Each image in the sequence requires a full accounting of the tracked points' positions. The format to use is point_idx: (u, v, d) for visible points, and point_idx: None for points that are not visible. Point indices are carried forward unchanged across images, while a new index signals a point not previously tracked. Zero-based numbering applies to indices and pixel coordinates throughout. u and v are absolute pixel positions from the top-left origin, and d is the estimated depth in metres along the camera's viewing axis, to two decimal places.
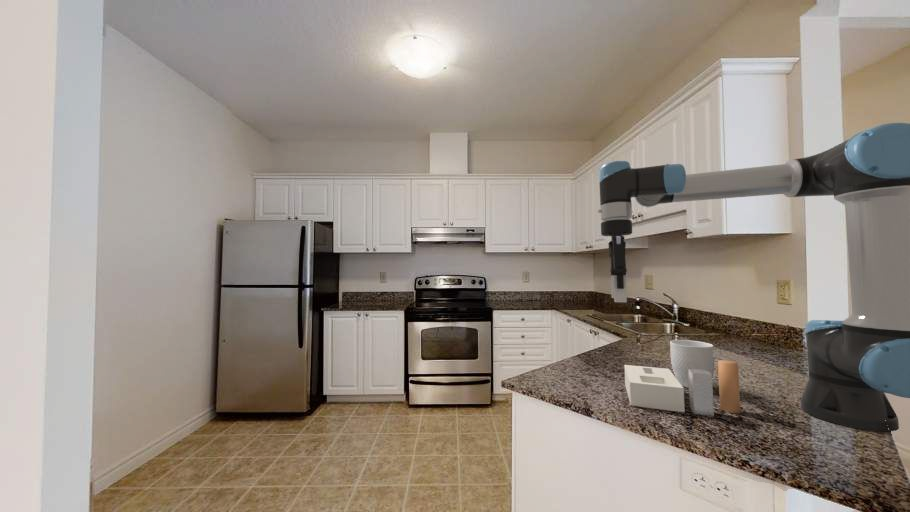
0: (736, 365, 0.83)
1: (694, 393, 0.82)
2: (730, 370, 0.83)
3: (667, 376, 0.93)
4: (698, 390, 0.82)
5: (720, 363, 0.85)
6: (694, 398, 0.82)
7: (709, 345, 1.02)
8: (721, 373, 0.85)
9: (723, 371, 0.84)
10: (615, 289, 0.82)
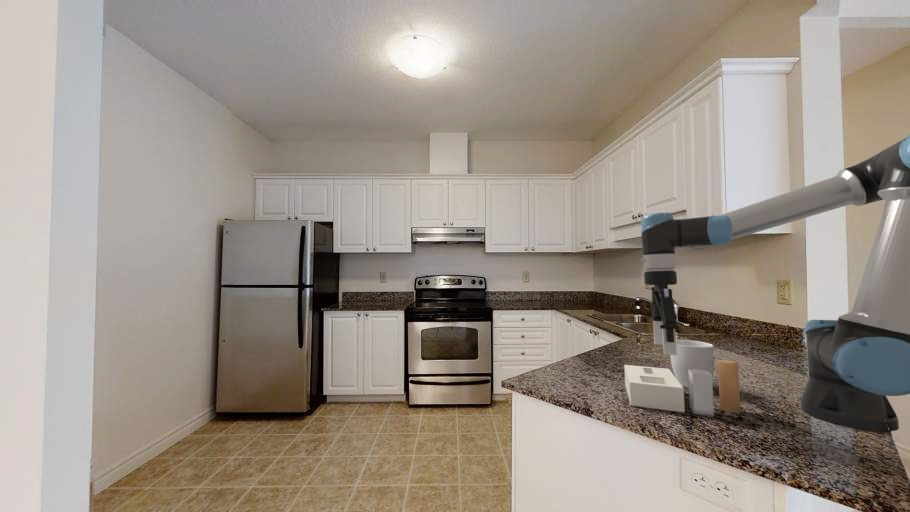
0: (736, 365, 0.83)
1: (694, 393, 0.82)
2: (730, 370, 0.83)
3: (667, 376, 0.93)
4: (698, 390, 0.82)
5: (720, 363, 0.85)
6: (694, 398, 0.82)
7: (709, 345, 1.02)
8: (721, 373, 0.85)
9: (723, 371, 0.84)
10: (665, 342, 0.83)
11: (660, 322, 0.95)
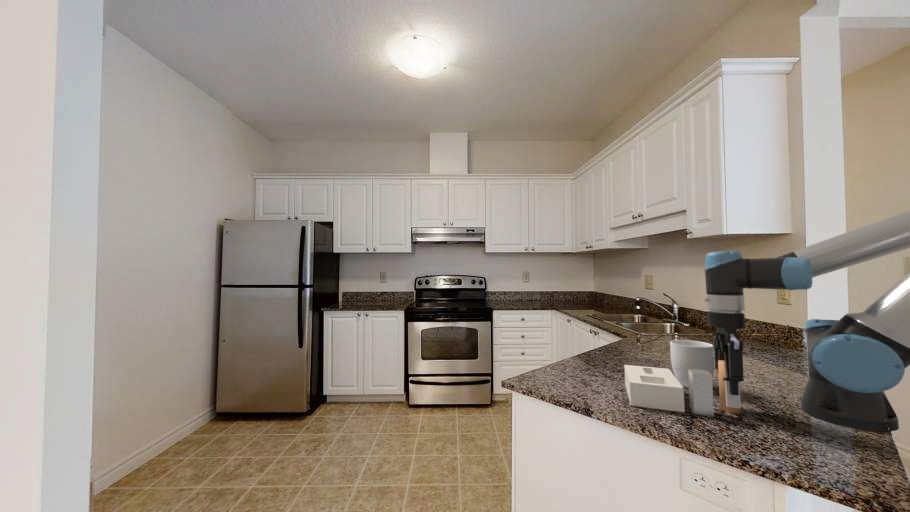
0: None
1: (694, 393, 0.82)
2: None
3: (667, 376, 0.93)
4: (698, 390, 0.82)
5: (720, 363, 0.85)
6: (694, 398, 0.82)
7: (709, 345, 1.02)
8: (721, 373, 0.85)
9: (724, 371, 0.84)
10: (728, 394, 0.82)
11: None
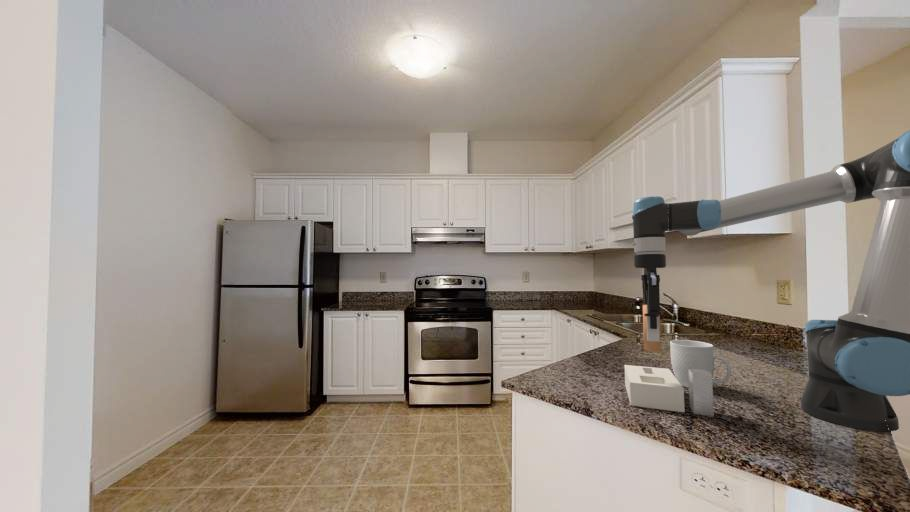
0: None
1: (694, 393, 0.82)
2: None
3: (667, 376, 0.93)
4: (698, 390, 0.82)
5: (644, 306, 0.91)
6: (694, 398, 0.82)
7: (709, 345, 1.02)
8: (644, 315, 0.91)
9: (646, 313, 0.90)
10: (648, 329, 0.89)
11: None
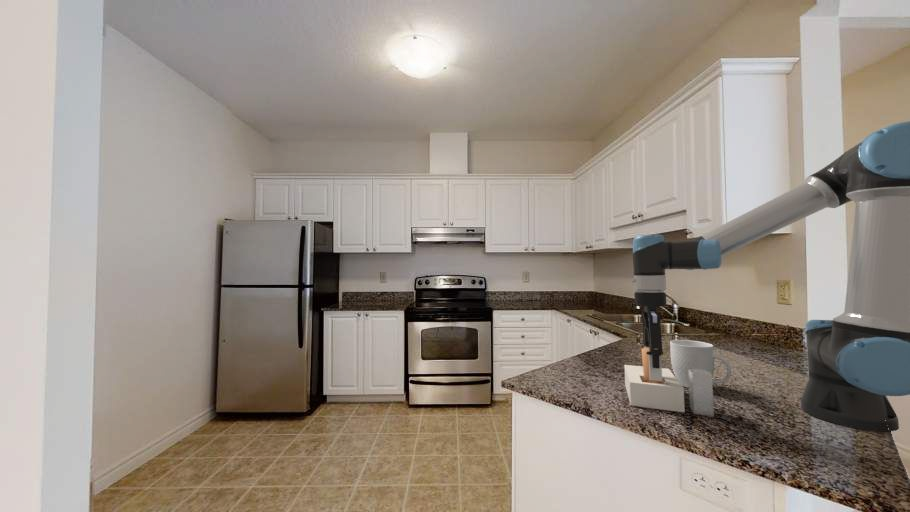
0: None
1: (694, 393, 0.82)
2: None
3: (667, 376, 0.93)
4: (698, 390, 0.82)
5: (642, 350, 0.91)
6: (694, 398, 0.82)
7: (709, 345, 1.02)
8: (644, 360, 0.90)
9: (645, 358, 0.90)
10: (651, 367, 0.86)
11: None
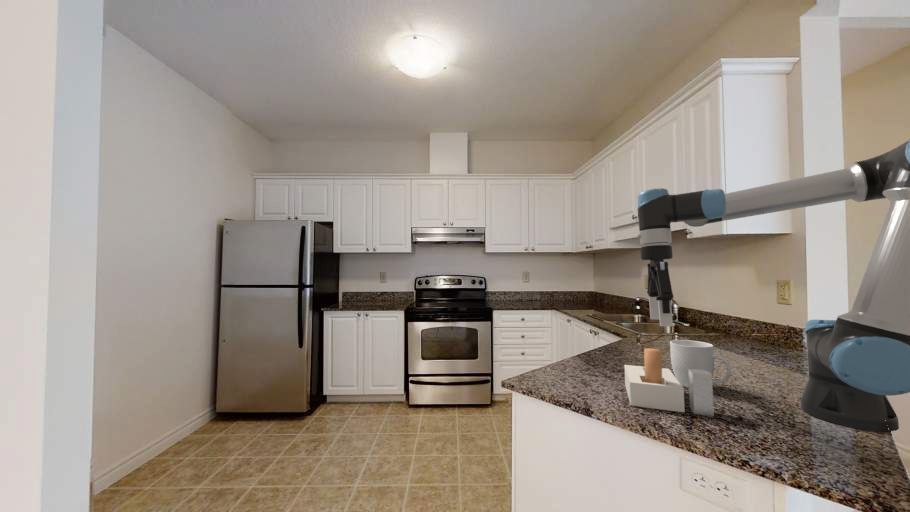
0: (659, 353, 0.88)
1: (694, 393, 0.82)
2: (653, 357, 0.88)
3: (667, 376, 0.93)
4: (698, 390, 0.82)
5: (645, 351, 0.90)
6: (694, 398, 0.82)
7: (709, 345, 1.02)
8: (646, 360, 0.90)
9: (648, 359, 0.89)
10: (661, 313, 0.85)
11: (656, 298, 0.97)
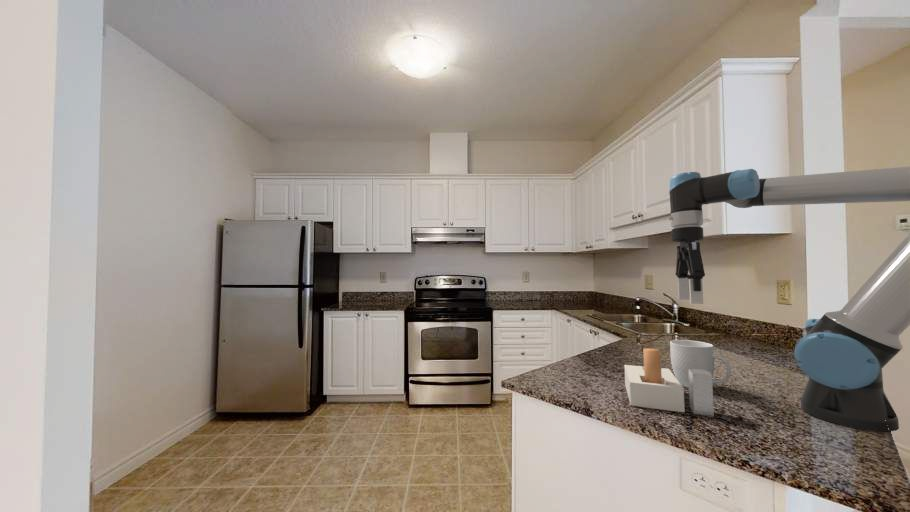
0: (658, 352, 0.88)
1: (694, 393, 0.82)
2: (652, 357, 0.88)
3: (667, 376, 0.93)
4: (698, 390, 0.82)
5: (644, 351, 0.90)
6: (694, 398, 0.82)
7: (709, 345, 1.02)
8: (645, 360, 0.90)
9: (647, 358, 0.89)
10: (691, 291, 0.88)
11: (685, 279, 1.00)
